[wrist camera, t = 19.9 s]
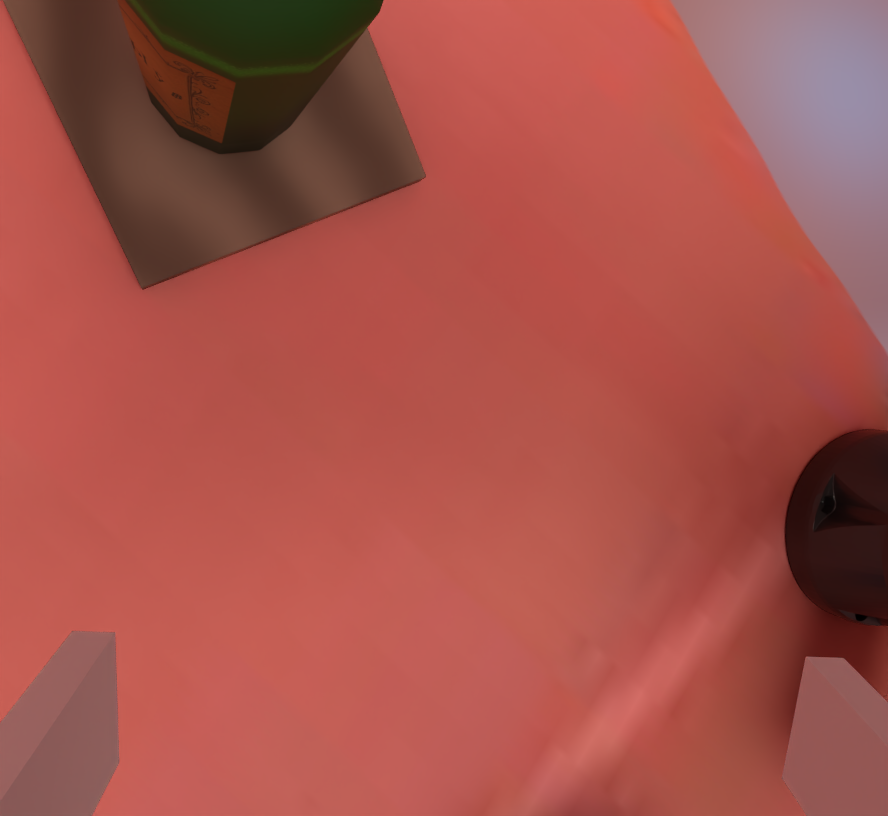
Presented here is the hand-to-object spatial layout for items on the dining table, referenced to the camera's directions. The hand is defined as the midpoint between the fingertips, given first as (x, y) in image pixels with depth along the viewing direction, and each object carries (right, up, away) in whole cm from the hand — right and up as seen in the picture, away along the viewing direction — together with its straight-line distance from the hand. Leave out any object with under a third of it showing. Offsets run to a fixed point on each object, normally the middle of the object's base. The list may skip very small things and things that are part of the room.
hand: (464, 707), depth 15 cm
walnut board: (-13, +24, +31) cm, 42 cm away
